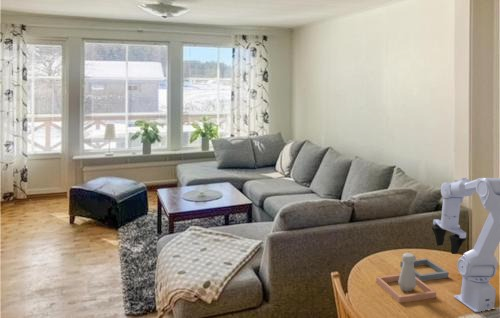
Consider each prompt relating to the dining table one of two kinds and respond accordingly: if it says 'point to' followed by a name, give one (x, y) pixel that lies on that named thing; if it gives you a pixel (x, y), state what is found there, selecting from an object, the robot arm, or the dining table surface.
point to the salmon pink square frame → (409, 297)
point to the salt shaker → (407, 273)
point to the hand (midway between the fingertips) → (446, 249)
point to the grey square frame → (439, 274)
